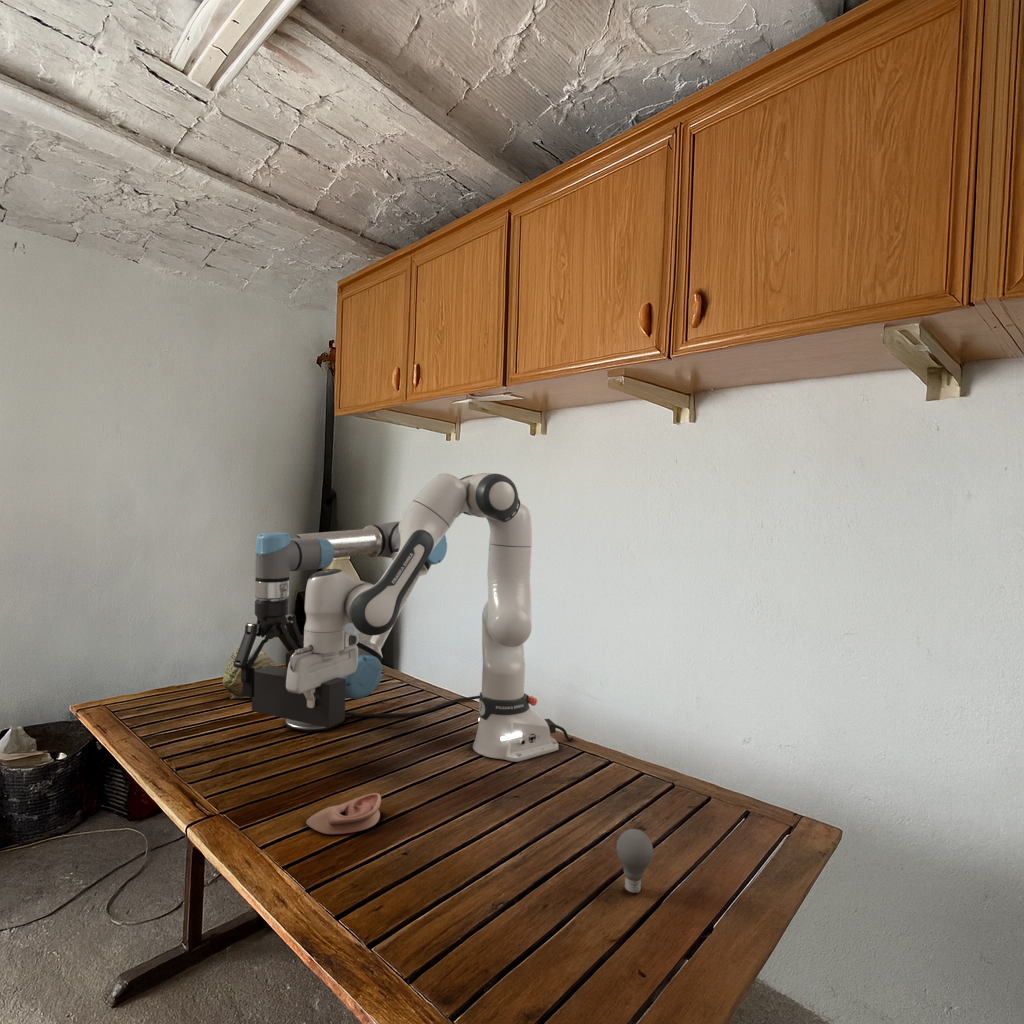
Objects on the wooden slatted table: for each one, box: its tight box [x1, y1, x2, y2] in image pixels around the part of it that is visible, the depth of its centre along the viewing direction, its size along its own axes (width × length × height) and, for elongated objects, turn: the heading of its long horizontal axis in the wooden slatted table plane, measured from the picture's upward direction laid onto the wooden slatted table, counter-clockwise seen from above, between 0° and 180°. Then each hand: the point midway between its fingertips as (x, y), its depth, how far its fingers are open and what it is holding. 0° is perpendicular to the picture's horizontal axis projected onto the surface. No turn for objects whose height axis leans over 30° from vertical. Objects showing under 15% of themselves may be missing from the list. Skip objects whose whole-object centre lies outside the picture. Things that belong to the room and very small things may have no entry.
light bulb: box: [615, 828, 654, 894], centre depth 106 cm, size 6×6×10 cm
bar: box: [251, 665, 346, 728], centre depth 146 cm, size 23×6×10 cm, turn 66°
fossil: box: [222, 646, 277, 699], centre depth 198 cm, size 9×18×15 cm, turn 132°
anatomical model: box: [305, 792, 382, 835], centre depth 124 cm, size 13×4×12 cm
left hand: (270, 687), depth 149 cm, fingers open, 13 cm apart
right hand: (322, 702), depth 143 cm, fingers closed on bar, 5 cm apart
